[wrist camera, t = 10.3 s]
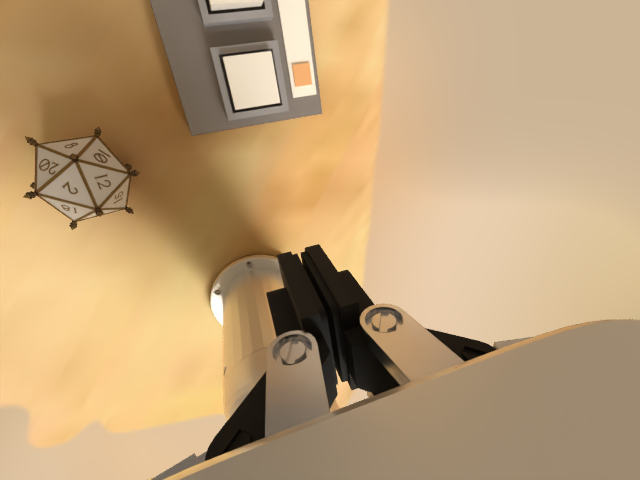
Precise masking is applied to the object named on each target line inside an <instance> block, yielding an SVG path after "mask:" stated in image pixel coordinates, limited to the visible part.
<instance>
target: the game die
mask: <svg viewBox="0 0 640 480" xmlns="http://www.w3.org/2000/svg"><path fill="white" fill-rule="evenodd" d="M94 133H95V135H94V136H89V137H82V138H76V139H69V140H62V141H55V142H48V143H41V144H38V143H37V142H36V140H34V139H33V138H29V137H26V136H25V138H26V140H27V143H30V145H34V146H35V183H34V182H33V183H32V184H31V186H30V187H32V188H35V192H32V191H31V192H27V193H26V195H25V196H24V197H25V198H30V199H32V198H35V196H38V197H40V198H41V199H43V200H44V201H45V202H47V203H48V204H50V205H51V206H53V207H54V208H55V209H57V210H58V211H60V212H61V213H62V214H64V215H65V216H67V217H68V218H69V219H71V220H72V222H71V223H70V225H69V226H70V227H71V229H72V230H73V229H75V228H77V226H76V225H77V223H76V222H77V221H81V220H85V219H89V218H92V217H96V216H100V217H101V215H104V214H108V213H112V212H116V211H119V210H123V209H125V210H126V212H128V213H132V214H134V213H133V210H132V209H131V208H129V207H127V202H128V195H129V188H130V180H131V176H137V175H138V174H139V173H140V172H138V171H136V170H134V171H131V172H130V171H129V170H130V169H131V167H132V166H130V165H128V164H127V165H125V166H124V165H123V163H122V162H121V161H120V160H119V159H118V158H117V157H116V156H115V155H114V154H113V152H112V151H111V150H110V149H109V148H108V147H107V146H106V145H105V144H104V142H103V141H102V140H101V139H100V138H99V136H100V135H101V130H100V128H99V127H98V128H97V129H95V132H94ZM128 169H129V170H128Z"/></svg>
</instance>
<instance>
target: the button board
mask: <svg viewBox="0 0 640 480" xmlns="http://www.w3.org/2000/svg"><path fill="white" fill-rule="evenodd" d="M150 3H151V6H152V9H153V12H154V16H155V19H156V22H157V25H158V29H159V32H160V35H161V38H162V41H163V45H164V48H165V51H166V54H167V58H168V61H169V64H170V67H171V70H172V74H173V77H174V80H175V83H176V87H177V90H178V93H179V96H180V99H181V103H182V106H183V109H184V112H185V116H186V119H187V122H188V125H189V129H190V132H191V135H192V136H194V135H200V134H206V133H212V132H217V131H223V130H229V129H235V128H241V127H247V126H253V125H258V124H264V123H270V122H276V121H282V120H288V119H294V118H299V117H305V116H311V115H317V114H322V108H321V100H320V92H319V84H318V76H317V67H316V59H315V51H314V43H313V35H312V27H311V19H310V10H309V2H308V0H264V1H263V3H262V6H259V7H248V8H238V9H227V10H216V11H211V7H210V3H209V0H150ZM267 51H271V53H272V58H273V64H274V70H275V75H276V81H277V87H278V92H279V98H280V103H276V104H270V105H263V106H257V107H251V108H244V109H238V110H235V109H234V104H233V100H232V96H231V92H230V88H229V84H228V80H227V75H226V71H225V67H224V63H223V57H226V56H234V55H243V54H251V53H259V52H267Z"/></svg>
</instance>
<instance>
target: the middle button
mask: <svg viewBox="0 0 640 480" xmlns="http://www.w3.org/2000/svg"><path fill="white" fill-rule="evenodd" d="M263 1H264V0H209V3H210V7H211V11H216V10H227V9H238V8H248V7H259V6H262V3H263Z"/></svg>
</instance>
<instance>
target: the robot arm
mask: <svg viewBox="0 0 640 480" xmlns="http://www.w3.org/2000/svg"><path fill="white" fill-rule="evenodd" d="M301 258H302V263H301V261H300V259H299V257H298V255H297V254H294V255H292V253H291V252H287V253H283V254H279V255H277V257H274V256H270V255H252V256H247V257H244V258H241V259H238V260H236V261H234V262H233V263H231V264H229V265H228V266H227V267H226V268H224V269H223V270H222V271H221V272H220V274H219V275H218V276H217V277H216V279H215V281H214V283H213V285H212V289H211V293H210V304H211V309H212V312H213V315H214V316H215V318H216V319H217V321H218V322H219V323H220V324H221V325H222V326H223V402H224V411H225V415H226V419H227V422H226V423H225V425H224V426H223V427H222V429H221V430H220V431H219V433H218V434H217V435H216V436H215V438H214V439H213V441H212V442H211V444H210V446H209V448H208V450H207V452H205V453H203V454H201V455H200V456H198V457H196V455H195V454H193V455H191V456H189V457H188V458H186V459H184V460H183V461H181V462H180V463H178V464H176V465H175V466H173V467H171V468H169V469H168V470H166V471H164V472H163V473H161V474H159V475H158V476H156V477H153V478H151V479H147V480H640V320H633V319H632V320H631V319H629V320H628V319H623V320H601V321H592V322H586V323H581V324H576V325H572V326H567V327H564V328H560V329H557V330H554V331H551V332H547V333H544V334H541V335H538V336H535V337H529V338H523V339H514V340H507V341H499V342H494V346H493V347H492V346H490V345H489V344H486V343H483V342H480V341H477V340H472V339H468V338H464V337H460V336H456V335H451V334H447V333H443V332H439V331H434V330H430V329H426V328H424V327H423V326H422V325H420V324H419V323H418V322H417V321H416V320H414V319H413V318H412V317H411V316H410V315H408V314H407V313H406V312H405V311H404V310H402V309H401V308H399V307H397V306H394V305H391V304H376V305H374V304H373V302H372V301H371V299H370V298H369V297H368V296H367V294H366V293H365V292H364V290H363V289H362V288H361V286H360V285H359V284H358V282H357V281H356V280H355V278H354V277H353V276H352V274H351V273H350V272H349V271H348V270H344V271H341V272H338V271H337V270H336V268H335V267H334V265H333V264H332V262H331V261H330V260H329V258H328V257H327V255H326V254H325V252H324V251H323V249H322V248H321V247H320V245H319V244H318V245H314V246H310V247H306V248H305V252H301ZM247 262H250V263H247ZM302 264H303V265H302ZM217 289H219V290H217ZM335 367H336V368H335ZM336 370H337V372H338V374H339V377H340V379H341V381H342V382H344V381H348V383H349V385H350V388H351V390H354V389H357V388H360V389H362V390H365V391H367V395H368V397H369V398H367V399H364V400H362V401H359V402H357V403H354V404H351V405H349V406H346V407H343V408H341V409H340V408H339V406H338V404H337V402H336V400H335V398H336V396H337V388H336V384H338V381H337V375H336Z"/></svg>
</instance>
